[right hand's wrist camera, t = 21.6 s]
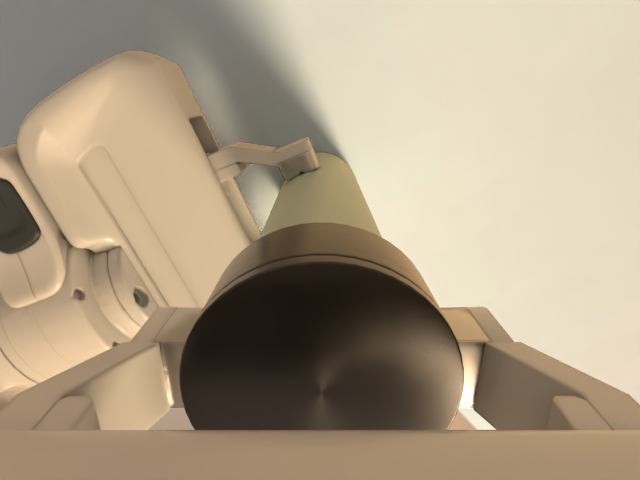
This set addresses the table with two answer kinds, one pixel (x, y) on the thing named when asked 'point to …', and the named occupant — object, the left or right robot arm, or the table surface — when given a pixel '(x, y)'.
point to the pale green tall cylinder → (322, 198)
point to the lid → (321, 339)
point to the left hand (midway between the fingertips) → (336, 206)
